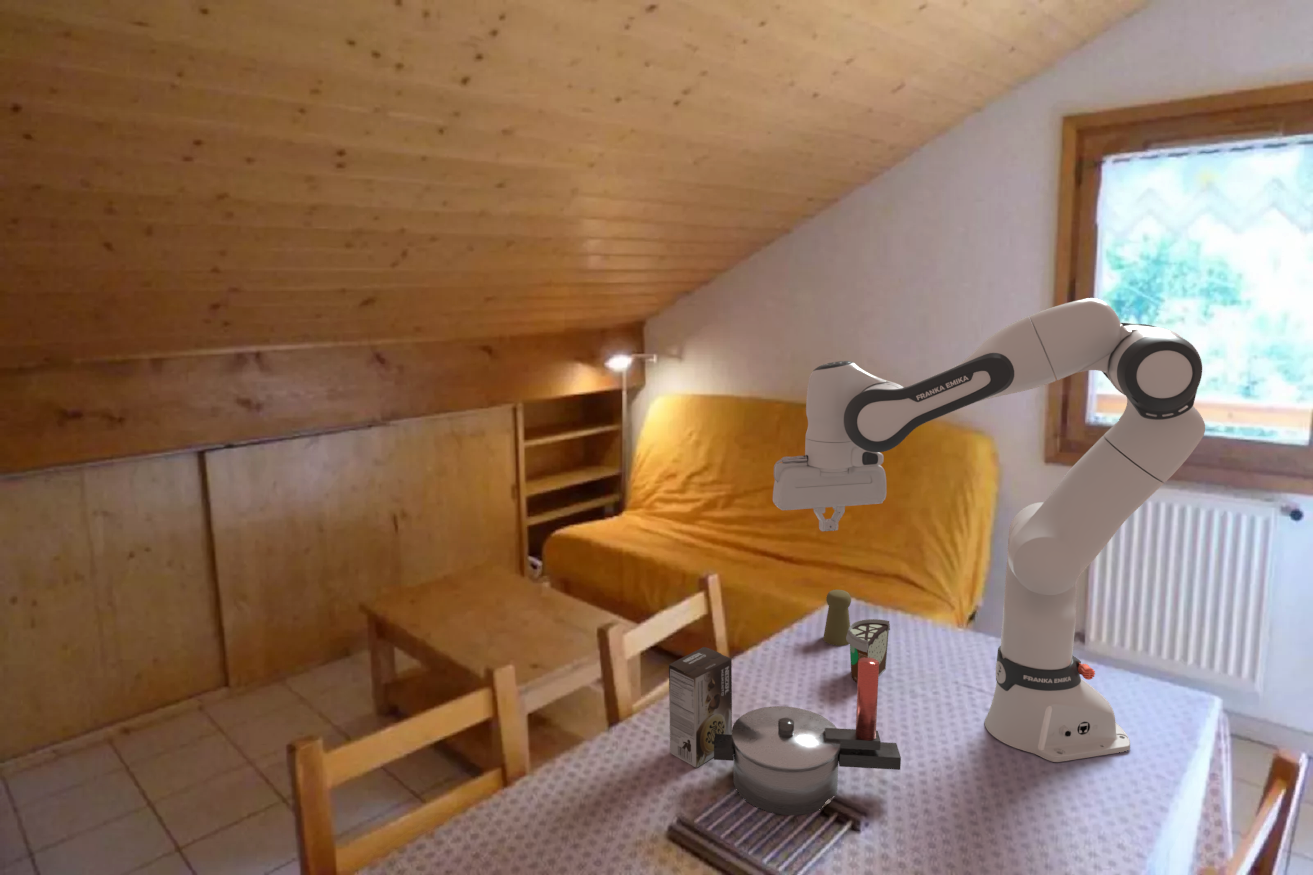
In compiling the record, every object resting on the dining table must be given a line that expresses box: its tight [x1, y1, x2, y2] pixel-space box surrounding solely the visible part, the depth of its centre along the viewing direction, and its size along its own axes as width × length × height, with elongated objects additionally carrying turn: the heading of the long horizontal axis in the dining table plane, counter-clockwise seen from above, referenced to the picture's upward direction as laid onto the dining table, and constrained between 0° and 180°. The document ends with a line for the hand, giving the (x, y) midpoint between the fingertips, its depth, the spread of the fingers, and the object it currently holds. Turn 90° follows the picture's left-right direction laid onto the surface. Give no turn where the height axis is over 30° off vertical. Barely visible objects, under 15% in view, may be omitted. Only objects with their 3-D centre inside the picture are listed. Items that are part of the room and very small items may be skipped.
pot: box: [713, 734, 902, 816], centre depth 128 cm, size 28×16×7 cm, turn 84°
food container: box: [846, 618, 891, 684], centre depth 162 cm, size 12×6×10 cm, turn 144°
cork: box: [822, 589, 852, 647], centre depth 178 cm, size 6×6×11 cm
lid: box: [732, 657, 882, 771], centre depth 125 cm, size 22×17×14 cm
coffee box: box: [668, 646, 733, 769], centre depth 136 cm, size 9×6×16 cm
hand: (828, 530), depth 147 cm, fingers closed
